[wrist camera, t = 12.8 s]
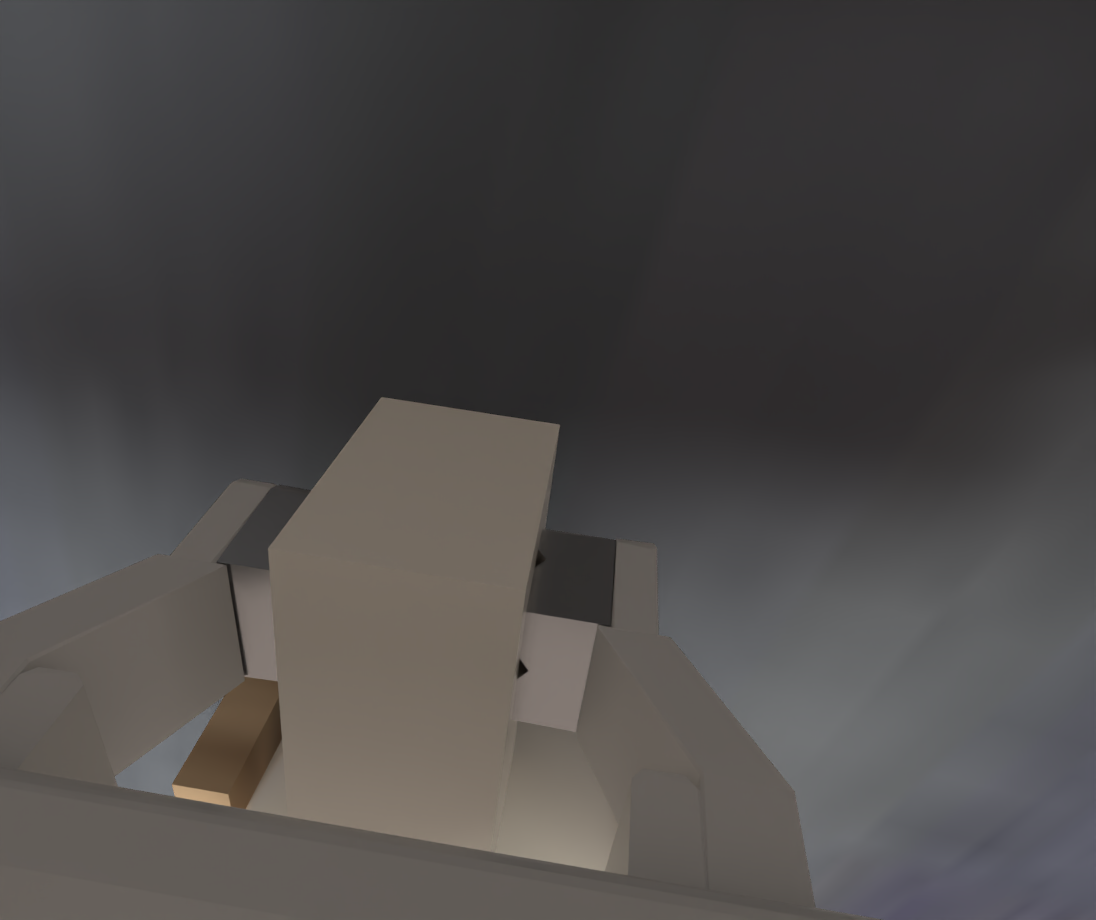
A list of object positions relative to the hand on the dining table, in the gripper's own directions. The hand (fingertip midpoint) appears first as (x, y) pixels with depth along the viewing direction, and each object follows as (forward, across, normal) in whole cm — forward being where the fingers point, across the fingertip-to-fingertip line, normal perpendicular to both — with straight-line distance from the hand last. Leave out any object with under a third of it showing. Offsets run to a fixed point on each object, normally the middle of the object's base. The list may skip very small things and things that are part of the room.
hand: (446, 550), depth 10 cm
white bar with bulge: (+4, 0, +7) cm, 8 cm away
